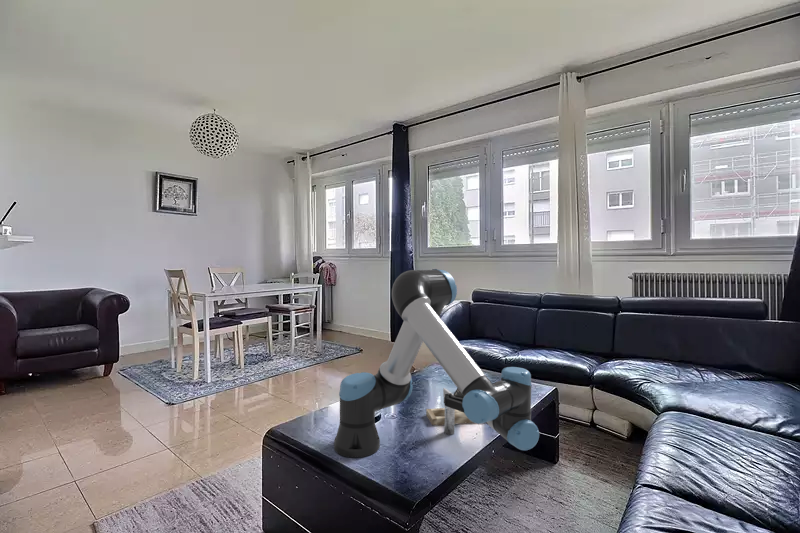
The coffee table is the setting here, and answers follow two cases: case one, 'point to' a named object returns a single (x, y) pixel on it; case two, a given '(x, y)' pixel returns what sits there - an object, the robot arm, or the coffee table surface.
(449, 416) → the salt shaker
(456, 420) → the wooden tray
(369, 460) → the coffee table surface
